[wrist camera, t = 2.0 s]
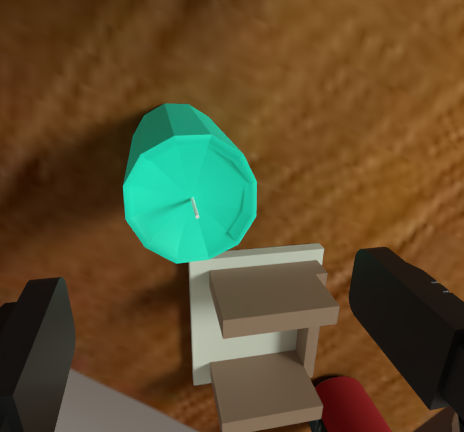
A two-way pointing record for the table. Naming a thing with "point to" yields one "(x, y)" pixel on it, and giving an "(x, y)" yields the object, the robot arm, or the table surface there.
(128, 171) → the candle
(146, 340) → the table surface
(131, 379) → the table surface
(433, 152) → the table surface
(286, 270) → the holder
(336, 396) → the beverage can
